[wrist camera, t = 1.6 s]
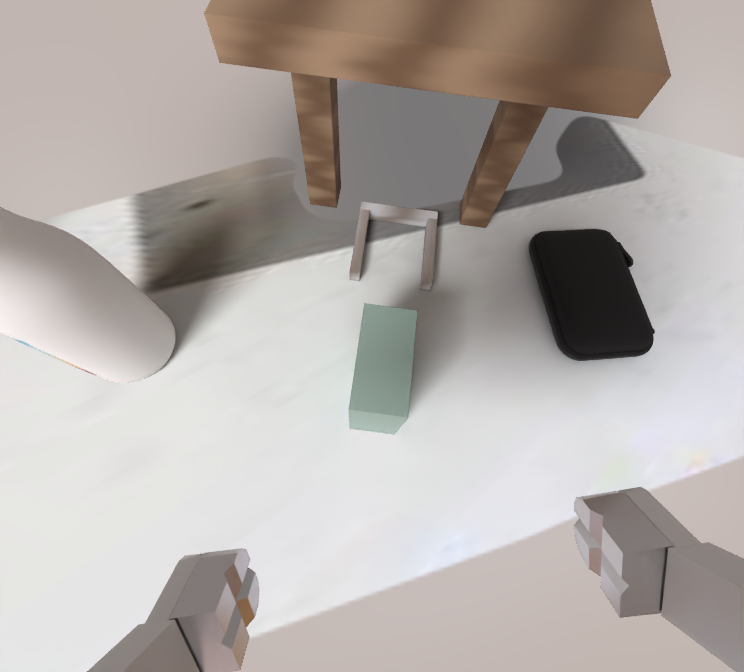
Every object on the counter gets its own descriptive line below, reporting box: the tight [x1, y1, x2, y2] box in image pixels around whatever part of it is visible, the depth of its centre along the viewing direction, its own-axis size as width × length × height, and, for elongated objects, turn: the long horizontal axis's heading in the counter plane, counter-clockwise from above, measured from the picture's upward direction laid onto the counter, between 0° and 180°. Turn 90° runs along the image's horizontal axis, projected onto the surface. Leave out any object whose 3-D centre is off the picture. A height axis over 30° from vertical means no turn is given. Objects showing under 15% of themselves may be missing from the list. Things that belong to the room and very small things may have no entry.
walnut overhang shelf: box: [204, 0, 671, 290], centre depth 30 cm, size 20×14×24 cm
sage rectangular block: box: [349, 303, 417, 434], centre depth 31 cm, size 4×8×9 cm, turn 173°
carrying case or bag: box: [529, 229, 655, 361], centre depth 39 cm, size 11×3×15 cm
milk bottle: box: [0, 207, 176, 383], centre depth 26 cm, size 8×8×20 cm
